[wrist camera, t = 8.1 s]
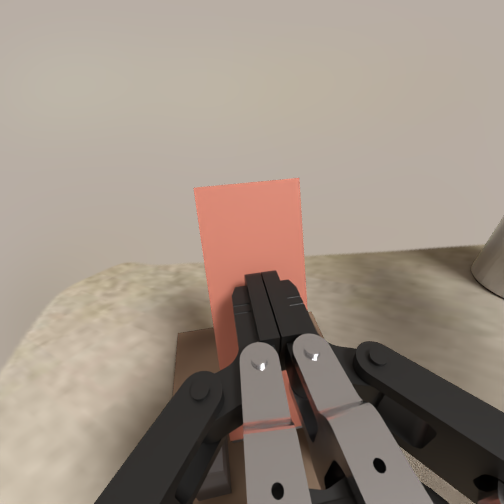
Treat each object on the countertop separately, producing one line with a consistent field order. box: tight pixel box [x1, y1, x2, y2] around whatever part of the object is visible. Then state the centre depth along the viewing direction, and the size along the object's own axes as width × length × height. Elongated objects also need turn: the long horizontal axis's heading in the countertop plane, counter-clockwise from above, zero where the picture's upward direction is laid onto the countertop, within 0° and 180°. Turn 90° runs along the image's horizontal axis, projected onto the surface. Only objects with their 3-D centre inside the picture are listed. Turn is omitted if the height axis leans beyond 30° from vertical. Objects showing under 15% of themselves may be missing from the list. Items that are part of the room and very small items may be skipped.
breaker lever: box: [194, 178, 307, 443], centre depth 14 cm, size 2×5×15 cm, turn 99°
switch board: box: [173, 312, 324, 504], centre depth 16 cm, size 20×14×6 cm
